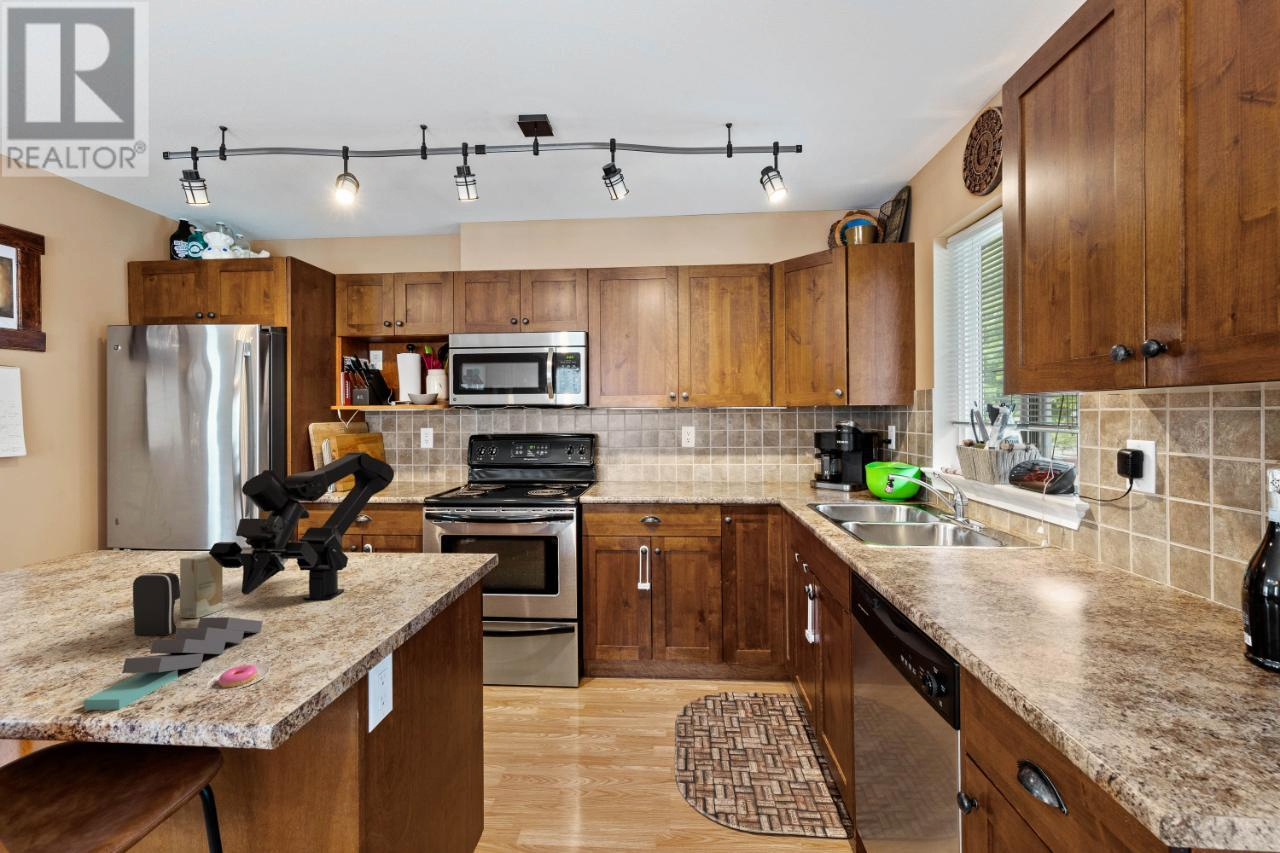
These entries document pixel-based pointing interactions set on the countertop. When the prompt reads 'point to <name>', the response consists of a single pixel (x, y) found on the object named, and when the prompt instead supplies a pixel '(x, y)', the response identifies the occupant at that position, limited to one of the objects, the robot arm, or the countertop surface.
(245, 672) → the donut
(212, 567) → the skincare box
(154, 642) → the domino
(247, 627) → the domino
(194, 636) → the domino
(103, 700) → the domino
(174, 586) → the black rounded upright block
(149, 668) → the domino
